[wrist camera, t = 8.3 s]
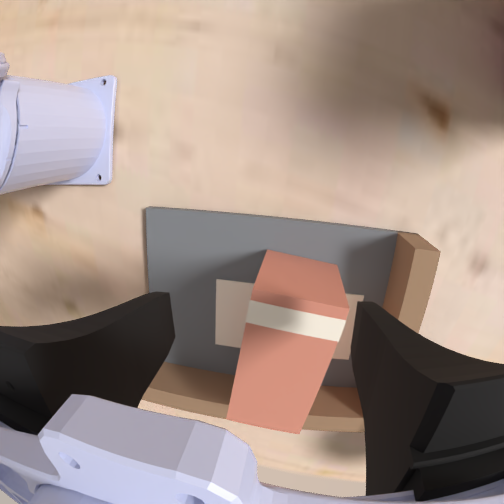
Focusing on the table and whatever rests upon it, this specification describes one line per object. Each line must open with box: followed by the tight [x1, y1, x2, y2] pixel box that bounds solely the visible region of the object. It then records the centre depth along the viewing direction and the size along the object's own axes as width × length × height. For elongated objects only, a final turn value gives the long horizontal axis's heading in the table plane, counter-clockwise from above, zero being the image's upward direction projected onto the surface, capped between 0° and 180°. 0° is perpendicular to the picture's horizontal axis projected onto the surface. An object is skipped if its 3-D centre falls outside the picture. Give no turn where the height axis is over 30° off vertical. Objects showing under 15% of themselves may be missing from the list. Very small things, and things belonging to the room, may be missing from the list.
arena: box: [142, 207, 440, 432], centre depth 20 cm, size 18×14×4 cm
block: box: [226, 249, 349, 434], centre depth 18 cm, size 5×9×6 cm, turn 170°
